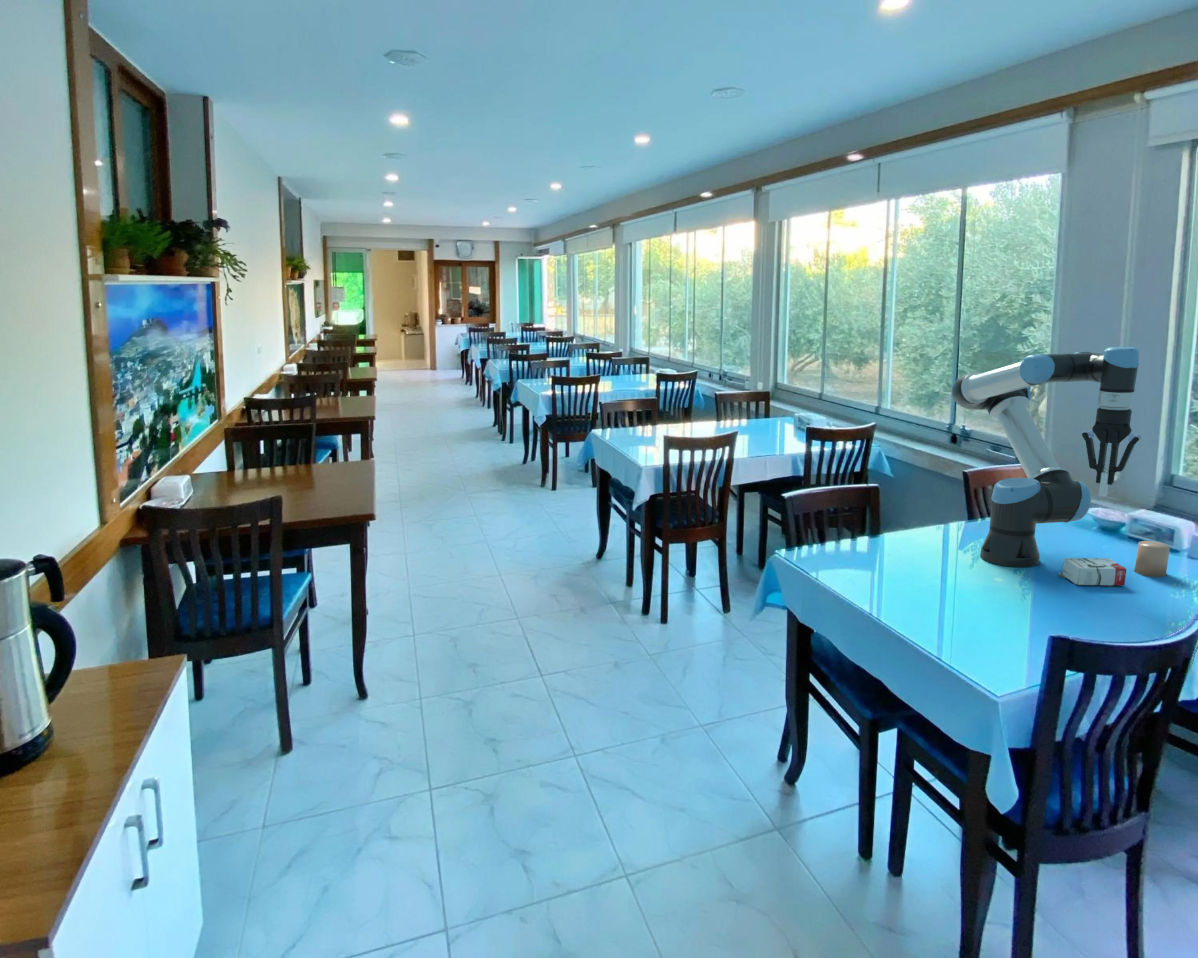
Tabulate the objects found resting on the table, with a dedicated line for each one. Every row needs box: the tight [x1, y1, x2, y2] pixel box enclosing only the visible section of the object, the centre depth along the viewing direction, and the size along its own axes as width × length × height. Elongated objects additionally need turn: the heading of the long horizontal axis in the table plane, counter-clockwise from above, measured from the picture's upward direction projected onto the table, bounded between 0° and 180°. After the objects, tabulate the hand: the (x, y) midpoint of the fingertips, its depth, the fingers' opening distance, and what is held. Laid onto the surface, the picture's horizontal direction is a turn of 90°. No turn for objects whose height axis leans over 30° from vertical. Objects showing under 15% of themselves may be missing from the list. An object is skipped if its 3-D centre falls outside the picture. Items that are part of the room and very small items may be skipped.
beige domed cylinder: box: [1134, 540, 1171, 578], centre depth 209 cm, size 7×7×8 cm
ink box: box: [1061, 557, 1127, 586], centre depth 204 cm, size 9×5×12 cm
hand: (1102, 495), depth 204 cm, fingers closed
